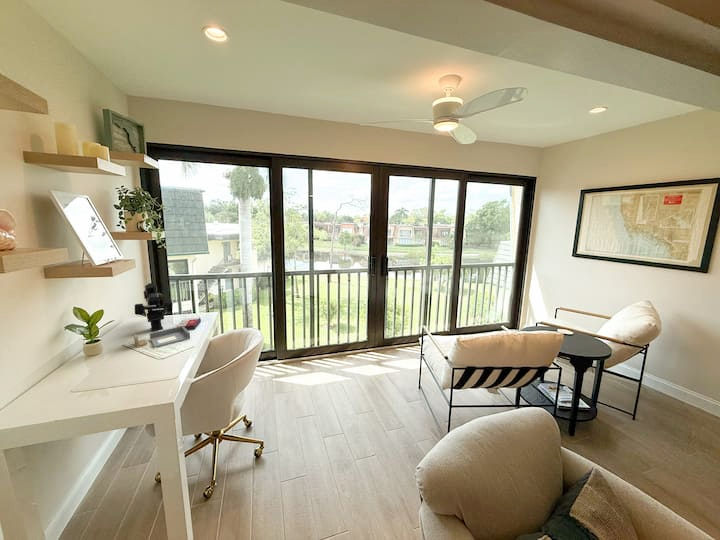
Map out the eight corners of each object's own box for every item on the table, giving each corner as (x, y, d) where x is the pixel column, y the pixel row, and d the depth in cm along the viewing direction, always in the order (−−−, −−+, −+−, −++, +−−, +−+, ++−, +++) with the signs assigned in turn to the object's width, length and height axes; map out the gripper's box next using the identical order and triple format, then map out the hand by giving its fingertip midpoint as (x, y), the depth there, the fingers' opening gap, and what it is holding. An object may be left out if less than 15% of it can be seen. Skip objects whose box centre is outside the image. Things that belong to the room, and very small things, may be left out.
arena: (150, 339, 176) (149, 333, 176) (183, 331, 189) (183, 325, 188) (154, 348, 165) (153, 341, 164) (190, 338, 177) (189, 332, 176)
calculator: (175, 326, 188) (183, 317, 202) (176, 332, 189) (183, 323, 203) (194, 324, 191) (200, 316, 205) (195, 330, 192) (201, 321, 206)
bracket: (135, 343, 171) (133, 334, 170) (145, 341, 175) (143, 331, 174) (136, 347, 166) (135, 338, 165) (147, 345, 169) (145, 335, 168)
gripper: (134, 291, 173) (135, 304, 162) (171, 289, 185) (174, 301, 174) (134, 307, 176) (135, 321, 166) (170, 304, 188) (173, 317, 177)
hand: (155, 314), depth 170 cm, fingers open, 9 cm apart
